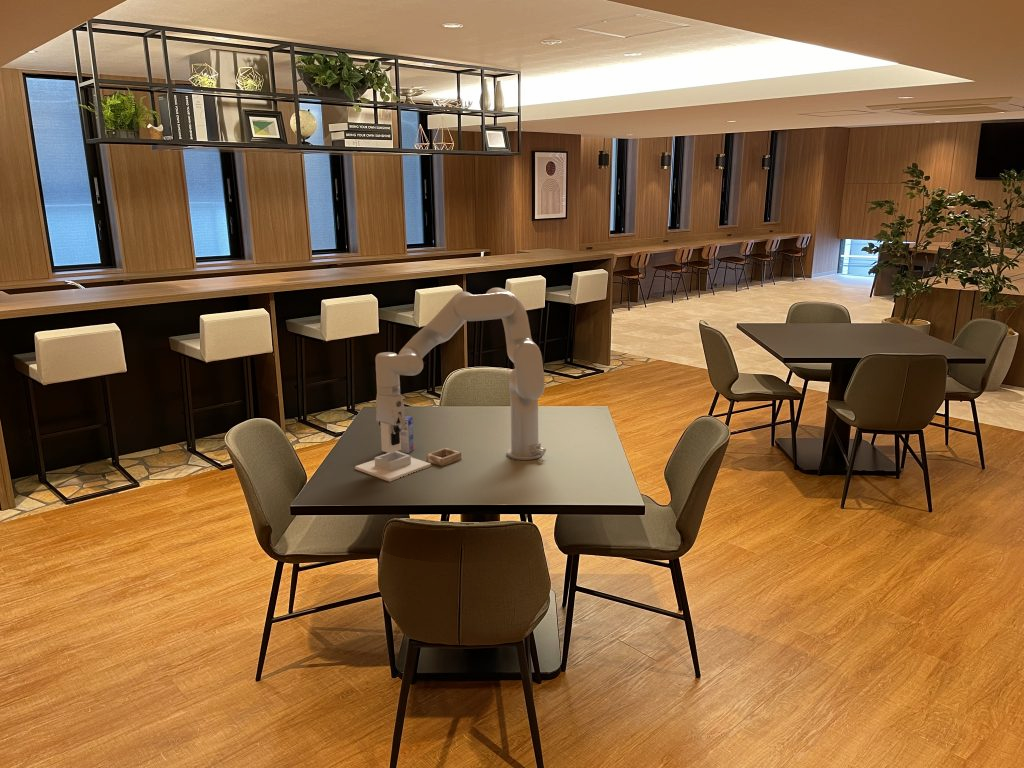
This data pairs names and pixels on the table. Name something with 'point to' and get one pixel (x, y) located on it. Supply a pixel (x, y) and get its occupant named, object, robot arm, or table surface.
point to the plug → (388, 439)
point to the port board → (392, 466)
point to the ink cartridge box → (407, 436)
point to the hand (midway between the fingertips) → (391, 442)
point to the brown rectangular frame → (450, 457)
